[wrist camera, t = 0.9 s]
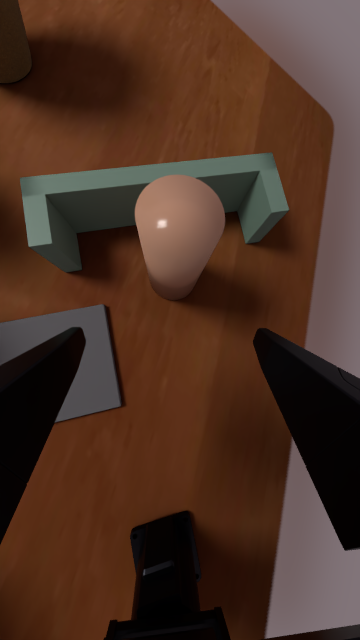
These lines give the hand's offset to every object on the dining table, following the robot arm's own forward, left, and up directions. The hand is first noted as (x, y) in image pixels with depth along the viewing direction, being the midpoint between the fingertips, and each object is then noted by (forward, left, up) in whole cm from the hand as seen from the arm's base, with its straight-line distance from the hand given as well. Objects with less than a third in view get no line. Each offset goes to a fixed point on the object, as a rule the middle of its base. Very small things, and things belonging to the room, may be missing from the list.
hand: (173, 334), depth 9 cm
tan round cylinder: (+8, -2, -13) cm, 15 cm away
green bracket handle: (+14, -2, -13) cm, 19 cm away
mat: (0, +13, -13) cm, 18 cm away
